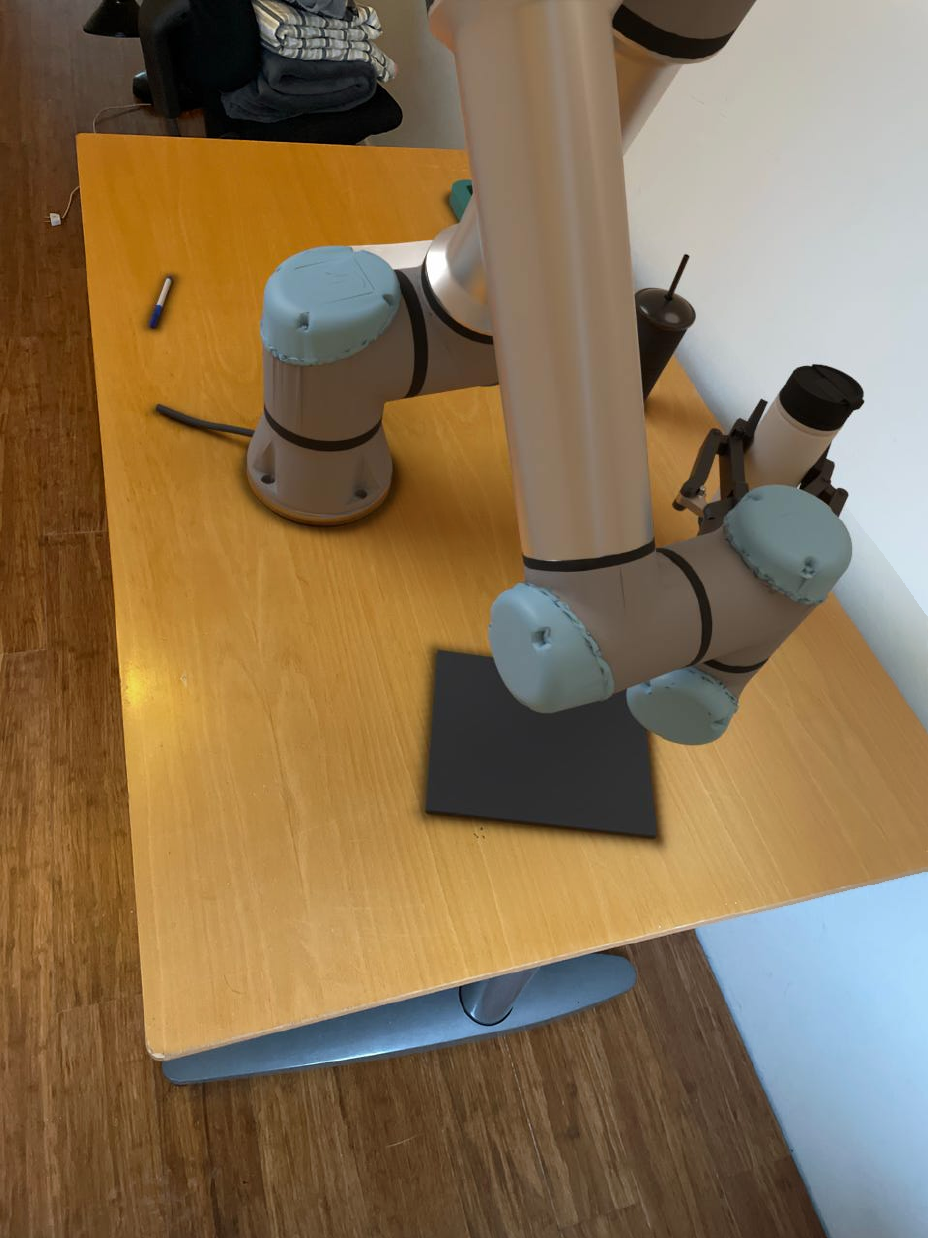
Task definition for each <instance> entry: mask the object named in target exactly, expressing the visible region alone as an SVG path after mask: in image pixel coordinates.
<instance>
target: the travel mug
mask: <svg viewBox="0 0 928 1238" xmlns="http://www.w3.org/2000/svg"><path fill="white" fill-rule="evenodd" d="M864 397H865V392H864V389H863V387H862V385H861V384H860V383H859V382H858V381H857V380H856V379H855V378H853V377H852V376H851V375H849V374H848V373H846V372H844V371H842V370H840V369H837V368H835V367H832V366H829V365H825V364H819V363H818V364H817V363H813V364H812V365H807V364H806V365H801V366H798V367H796V368H794V370H792V372H791V373H790V376H789V377H788V378H787V380H786V382H785V384H784V385H783V387H781V389H780V390H779V392H778V393H777V395H776V397H774V399H773V400H772V403H771V404H770V406H769V407H768V409H767V410H766V411H765V414H763V417H761V419H760V421H759V423H758V425H757V428H756V430H755V432H754V434H753V436H752V439H751V440H750V442H749V443H748V445H747V447H746V448H745V450H744V451H743V455H744V469H745V483H748V485H749V492H750V491H752V490H753V489H755V488H758V487H761V486H765V485H785V486H790V487H794V488H797V489H798V488H799V487H800V484H801V482H802V481H803V479H804V478H805V477H806V475H807V474H808V473H809V471H810V470H811V469H812V467H813V466H814V464H815V463H816V462H817V460H818V459H819V458H820V456H821V455H822V454H823V452H824V451H825V450H826V448H827V447H828V446H829V444H830V443H831V442H833V441H834V439H835V438H836V437H837V435H838V434H839V433H840V431H841V430H842V428H843V427H844V425H845V423H846V422H847V420H848V419H849V418H850V417H851V415H852V414H853V412H854V411H857V410H860V409H861V408H862V407H863V405H864V404H865V399H864ZM831 444H832V443H831ZM719 500H721V497H720V485H719V486H718V488H717V489H716V490H715V492H714V494H713V496H712V497H711V499H710V500H709V501H708V502H707V504H709V503H712V502H715V501H719Z"/></svg>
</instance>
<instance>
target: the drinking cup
mask: <svg viewBox="0 0 928 1238" xmlns="http://www.w3.org/2000/svg"><path fill="white" fill-rule="evenodd" d="M689 259H690V255H689V254H687V253H684V254H683V256H682V258H681V261H680V263H679V265H678V268H677V270H676V272H675V274H674V277H673V279H672V281H671V283H670V286H669V288H668V289H664V288H661V287H644V288H641V289H639V290H637V291H636V292H634V296H635V308H636V320H637V332H638V344H639V356H640V368H641V380H642V392H643V405H645V402H646V400H647V399H648V397H649V396H650V394H651V392H652V391H653V389H654V387H655V386H656V384H657V383H658V380H659V378H660V376H661V375H662V373H663V372H664V370H665V368H666V367H667V365H668V364H669V362H670V360H671V358H672V356H673V355H674V353H675V352H676V350H677V349H678V346H679V345H680V343H681V341H682V340H683V338H684V337H685V335H686V333H687V331H688V329H690V328H691V327H692V326H693V325H694V324H695V321H696V318H697V313H696V310H695V307H693V305H692V304H691V303H690V302H689V301H688V300H687V299H686V298H685V297H683V296H681V295H680V294H678V293H675V292H676V290H677V287H678V285H679V282H680V281H681V278H682V275H683V273H684V271H685V269H686V267H687V265H688V261H689Z"/></svg>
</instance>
